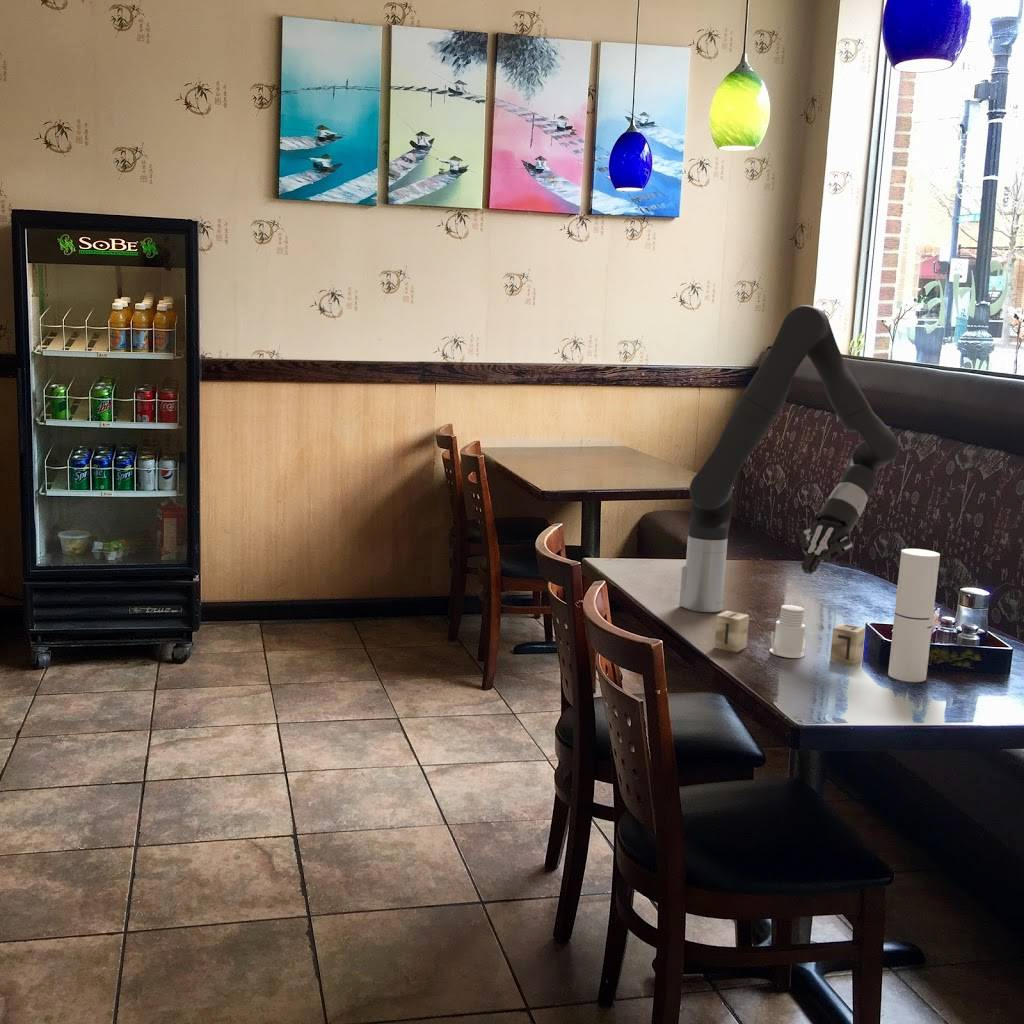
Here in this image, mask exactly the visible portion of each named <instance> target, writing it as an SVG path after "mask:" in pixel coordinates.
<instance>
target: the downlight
mask: <svg viewBox="0 0 1024 1024" xmlns="http://www.w3.org/2000/svg"><path fill="white" fill-rule="evenodd" d="M804 613H805V608H803V607H801V606H799V605H798V606H797V605H793V604H783V605H781V607H780V615H779V616H780V617H779V620H776V622H775V630H774V631H772V630H771V632H770V641H771V648H769V652H770V653H771V654H773V655H775V656H779V657H782V658H788V659H801V658H804V657H805V653H803V650H806V647H807V646H806V645H807V639H806V633H805V630H806V625H805V623H803V622H804Z"/></svg>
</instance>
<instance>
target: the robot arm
mask: <svg viewBox="0 0 1024 1024" xmlns="http://www.w3.org/2000/svg"><path fill="white" fill-rule="evenodd" d="M777 332H778V333H777V335H776V336H775V339H774V341H773V343H772V345H771V348H770V349H769V352H768V354H767V355H766V358H765V359H764V360H763V362H762V363H761V365H760V366H759V368H758V369H757V371H755V373H754V376H753V377H752V379H751V380H750V382H749V383H748V385H747V386H746V388H745V390H743V391H744V392H743V393H742V394H741V396H740V397H739V400H738V401H737V404H736V405H735V407H734V409H733V410H732V412H731V415H730V416H729V419H728V421H727V422H726V424H725V425H724V429H723V430H722V433H721V435H720V437H719V439H718V442H717V444H716V446H715V447H714V449H713V451H712V452H711V454H710V455H709V457H708V458H707V459H706V461H705V462H704V464H703V465H702V466H701V468H700V469H699V470H698V472H697V473H695V475H694V477H693V478H692V480H691V481H690V483H689V495H690V499H691V501H692V505H691V514H690V519H689V522H688V528H687V529H688V531H687V542H686V543H687V544H686V545H687V546H686V558H685V565H684V566H683V567H682V568H681V577H680V580H681V581H680V589H679V603H678V604H679V606H678V607H681V608H684V609H686V610H689V611H691V612H692V611H693V612H700V613H718V612H721V611H722V610H723V603H724V590H725V575H726V566H727V565H726V563H727V551H728V539H729V530H730V526H731V519H732V518H731V517H732V507H733V498H734V497H733V496H734V483H735V480H736V479H737V476H738V474H739V472H740V471H741V469H742V467H743V465H744V464H745V462H746V461H747V459H748V458H749V457H750V455H751V454H752V453H753V452H754V451H755V450H756V448H757V447H758V446H759V445H760V443H761V442H762V440H763V439H764V438H765V436H766V435H767V434H768V432H769V431H770V429H771V428H772V426H773V425H774V422H775V421H776V419H777V418H778V416H779V414H780V413H781V411H782V408H783V407H784V404H785V403H786V400H787V398H788V394H789V391H790V387H791V384H792V381H793V379H794V376H795V374H796V372H797V370H798V368H799V367H800V365H801V364H802V363H803V361H804V359H805V358H806V356H807V357H808V359H809V360H810V361H811V363H812V364H813V366H814V367H815V369H816V371H817V373H818V375H819V378H820V380H821V382H822V384H823V386H824V390H825V393H826V396H827V398H828V400H829V402H830V405H831V406H832V408H833V410H834V412H835V415H836V416H837V417H838V419H839V421H840V423H841V425H842V426H843V429H845V431H847V432H849V433H858V434H859V435H860V437H861V438H862V439H863V440H862V441H861V442H860V443H859V444H858V445H856V447H855V448H854V450H853V451H852V453H851V454H850V458H849V460H848V464H847V467H846V469H845V470H846V471H845V472H844V474H843V475H842V476H841V478H840V480H839V481H838V484H837V485H836V486H835V487H834V489H833V490H832V492H831V493H830V495H829V496H828V498H827V500H826V501H825V503H824V505H822V508H821V509H820V511H819V513H818V515H817V518H816V521H815V522H814V523H813V524H811V526H810V528H807V529H805V530H804V529H803V528H798V529H797V534H798V537H799V541H800V546H801V549H802V551H803V553H804V556H805V557H804V559H803V561H802V563H801V569H802V571H803V573H804V574H808V575H812V574H813V573H815V572H816V571H817V569H819V568H818V567H819V566H820V564H821V562H824V561H828V562H832V561H833V560H835V559H837V558H839V557H841V556H842V555H844V554H846V553H848V552H849V551H852V550H853V549H854V545H853V544H854V543H853V542H852V541H851V539H850V538H849V536H850V533H851V532H852V530H853V529H854V527H855V525H856V523H857V522H858V520H859V518H860V516H861V515H862V513H863V511H864V509H865V507H866V505H867V502H868V500H869V498H870V497H871V494H872V493H873V491H874V489H875V488H876V485H877V482H878V479H877V473H878V472H879V471H880V469H882V468H883V467H884V466H887V465H888V464H890V463H891V462H893V461H895V460H896V459H897V457H898V456H899V453H900V446H899V441H898V439H897V437H896V435H895V434H894V432H893V431H892V430H891V429H890V428H889V427H888V426H887V424H885V422H884V421H883V420H882V419H881V418H880V417H879V416H878V415H876V413H874V411H873V409H872V407H871V405H870V403H869V402H868V400H867V398H866V396H865V395H864V393H863V391H862V389H861V388H860V386H859V384H858V382H857V381H856V379H855V377H854V376H853V374H852V372H851V371H850V369H849V367H848V365H847V363H846V361H845V360H844V357H843V355H842V353H841V351H840V349H839V346H838V344H837V340H836V339H835V336H834V332H833V330H832V327H831V324H830V319H829V318H828V316H827V314H826V313H825V312H824V311H823V310H821V309H819V308H817V307H814V306H812V305H806V304H804V305H803V304H802V305H799V306H796V307H795V308H793V309H791V310H790V311H789V312H788V313H787V314H786V316H785V317H784V319H783V322H782V323H781V326H780V327H779V330H778V331H777ZM811 538H812V539H811ZM810 539H811V540H810ZM809 541H810V545H809Z"/></svg>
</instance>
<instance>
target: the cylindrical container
mask: <svg viewBox="0 0 1024 1024" xmlns="http://www.w3.org/2000/svg"><path fill="white" fill-rule="evenodd" d="M940 556H941V554H940V553H939V552H938V551H937V552H936V551H935V550H934V551H933V550H929V549H922V548H904V549H903V548H902V549H901V552H900V559H899V561H900V562H899V568H898V569H899V570H898V580H897V588H896V599H895V605H894V606H895V607H894V615H893V616H894V618H893V626H892V632H891V633H892V635H891V636H892V637H891V643H890V644H891V645H890V654H889V655H890V656H889V663H888V671H887V672H888V673H887V675H888V676H889V677H890V678H892V679H895V680H898V681H902V682H908V683H909V682H910V683H920V682H924V681H926V679H927V676H928V675H927V673H928V666H929V655H930V647H931V638H932V628H933V620H934V612H935V601H936V593H937V586H938V585H937V584H938V576H939V568H940V567H939V566H940V559H941V557H940Z"/></svg>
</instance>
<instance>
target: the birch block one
mask: <svg viewBox="0 0 1024 1024" xmlns="http://www.w3.org/2000/svg"><path fill="white" fill-rule="evenodd" d="M749 621H750V615H749V614H745V613H741V612H735V611H731V610H725V611H724V612H721V613H719V614H716V624H715V635H714V637H715V638H714V648H715V649H721V650H725V651H730V652H734V653H738V652H740V651H742V650H744V649H746V648H747V644H748V635H749V634H748V632H749V624H750V623H749Z"/></svg>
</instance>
